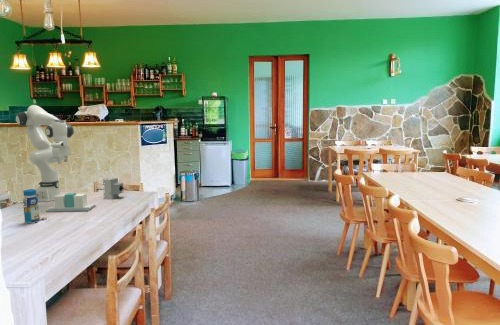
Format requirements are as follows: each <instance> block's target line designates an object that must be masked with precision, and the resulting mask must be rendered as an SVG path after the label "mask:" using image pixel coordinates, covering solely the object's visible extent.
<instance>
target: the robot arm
mask: <svg viewBox="0 0 500 325" xmlns="http://www.w3.org/2000/svg"><path fill="white" fill-rule="evenodd" d="M26 110H27V111H20V112H19V113H17V114H16V115H15V122H16V123H17V125H18V126H20V127H26V126H27V127H26V133H27V136H28V138H29V140H30V143H31V144H32V146H33V148H34V149H36V150H33V151H31V152H30V154H29V157H28V158H29V162H31V163H32V164H33V165H35V166H36V167H37V169H38V170H39V171H40V176H41V181H40V182H39V183H38V185H39V187H38V188H36V189H35V190H36V195H35V196H36V197H37V198H38V203H39V202H41V203H43V202H45V203H46V202H51V201H54V196H56V195H59V194H61V192H60V182H59V180H58V170H56V169H55V168H54V167H51V166H50V164H52V163H53V164H54V163H57V164H58V165H60V164H62V161H63V162H64V163H67V162H68V158H69V156H70V155H71V146H70V145H69V138H70V139H71V137H72V136H73V135H74V132H75V130H74V127H73V126H72V125H71V124H70V123H66V121H65V120H62V119H60V118H59V117H57V116H55V115H53V114H51V113H48V111H46V110H45V109H44V108H42V107H41V106H39V105H36V104H31V105H30V106H28V107H27V109H26ZM42 126H46V127H45V130H43V129H42ZM48 138H49V139H53V141H52V142H51V141H49V139H48Z"/></svg>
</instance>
